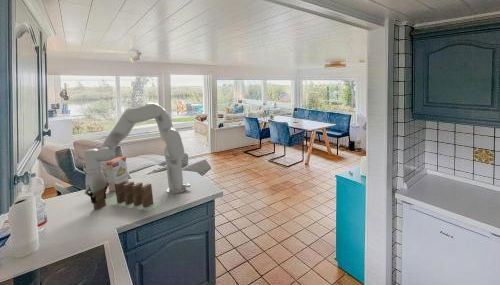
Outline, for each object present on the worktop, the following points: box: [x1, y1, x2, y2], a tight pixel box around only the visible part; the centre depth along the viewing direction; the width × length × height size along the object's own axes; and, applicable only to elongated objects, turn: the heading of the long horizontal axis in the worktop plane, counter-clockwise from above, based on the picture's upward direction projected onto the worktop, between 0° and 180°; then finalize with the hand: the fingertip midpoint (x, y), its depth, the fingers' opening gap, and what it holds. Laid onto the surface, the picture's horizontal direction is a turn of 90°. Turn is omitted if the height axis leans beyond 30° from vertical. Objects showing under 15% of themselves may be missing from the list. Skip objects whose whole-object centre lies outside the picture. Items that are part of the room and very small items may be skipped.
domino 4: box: [132, 182, 144, 206], centre depth 162 cm, size 2×6×12 cm, turn 158°
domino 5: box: [140, 183, 154, 207], centre depth 160 cm, size 2×6×12 cm, turn 158°
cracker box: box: [104, 156, 129, 193], centre depth 190 cm, size 14×6×21 cm, turn 168°
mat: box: [105, 194, 164, 212], centre depth 166 cm, size 38×12×1 cm, turn 68°
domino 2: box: [115, 181, 126, 203], centre depth 167 cm, size 2×6×12 cm, turn 158°
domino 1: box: [92, 189, 107, 210], centre depth 160 cm, size 2×6×12 cm, turn 158°
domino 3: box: [123, 181, 135, 205], centre depth 165 cm, size 2×6×12 cm, turn 158°
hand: (99, 200), depth 160 cm, fingers closed on domino 1, 5 cm apart
